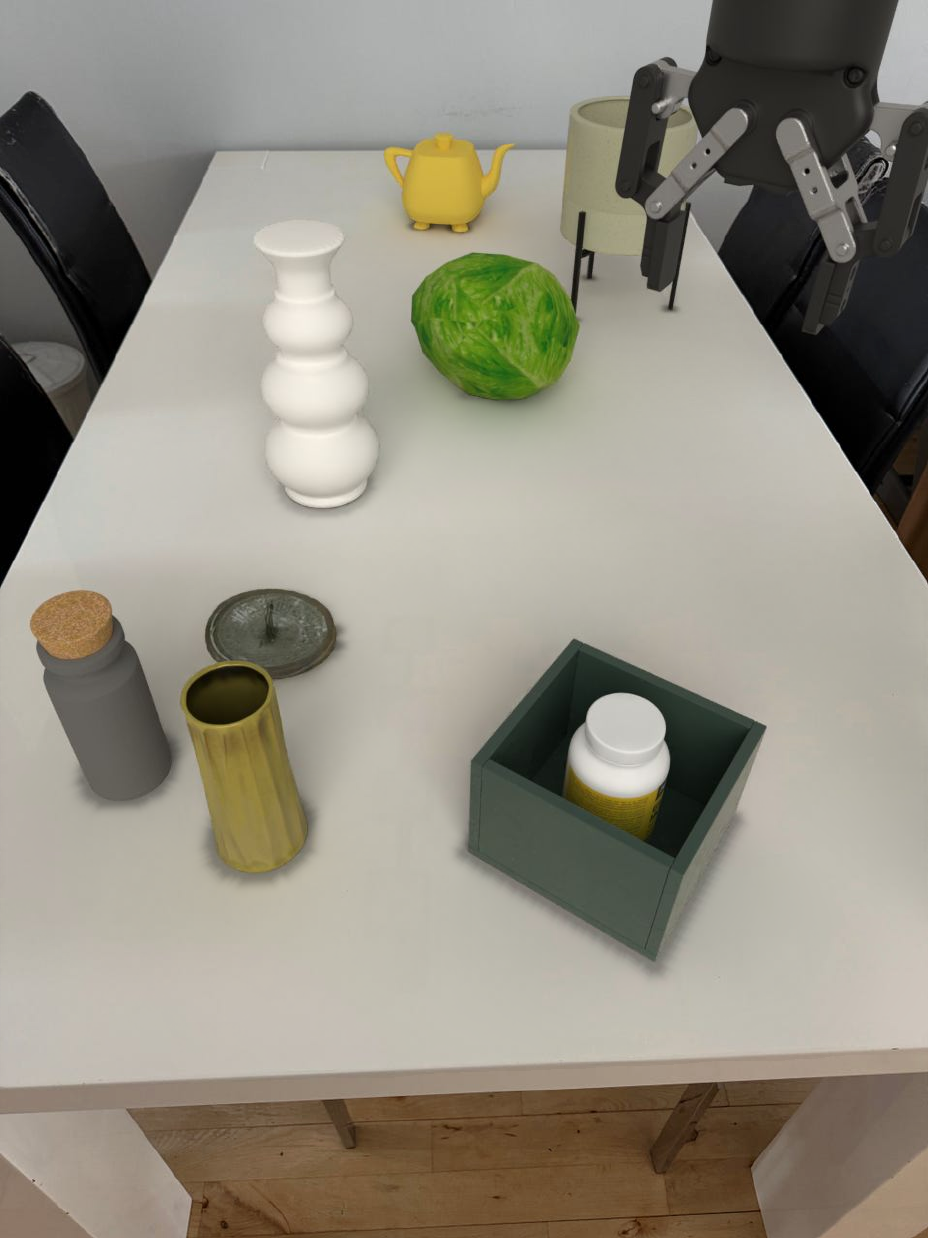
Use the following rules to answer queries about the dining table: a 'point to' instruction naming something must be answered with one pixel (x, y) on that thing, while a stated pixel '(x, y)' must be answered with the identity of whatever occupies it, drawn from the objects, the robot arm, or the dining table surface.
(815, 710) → the dining table surface
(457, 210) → the teapot
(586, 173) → the planter
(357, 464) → the vase
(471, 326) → the lettuce
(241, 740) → the vase
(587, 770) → the pill bottle
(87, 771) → the bottle
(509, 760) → the open box
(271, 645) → the lid
